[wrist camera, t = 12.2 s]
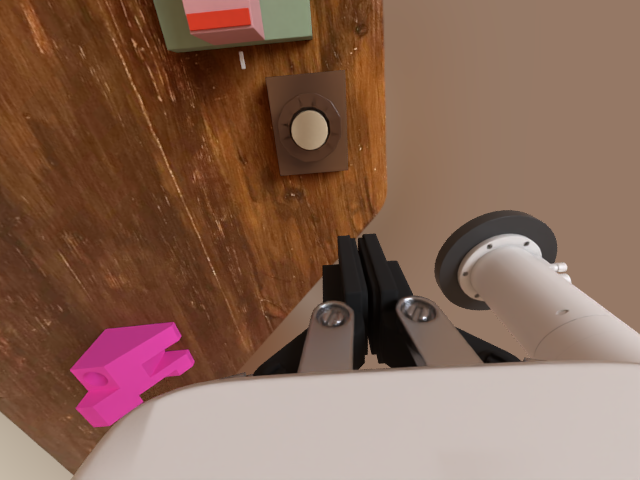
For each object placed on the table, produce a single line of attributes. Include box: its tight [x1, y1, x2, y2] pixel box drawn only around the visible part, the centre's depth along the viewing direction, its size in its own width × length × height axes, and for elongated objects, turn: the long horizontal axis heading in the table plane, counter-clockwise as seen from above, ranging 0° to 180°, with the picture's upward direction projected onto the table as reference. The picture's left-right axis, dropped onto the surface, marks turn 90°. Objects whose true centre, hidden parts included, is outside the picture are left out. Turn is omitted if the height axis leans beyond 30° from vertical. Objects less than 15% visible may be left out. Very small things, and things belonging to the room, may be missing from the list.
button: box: [291, 110, 328, 150], centre depth 27 cm, size 4×4×2 cm
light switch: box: [266, 70, 348, 176], centre depth 30 cm, size 8×10×4 cm
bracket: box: [70, 322, 195, 427], centre depth 44 cm, size 12×10×10 cm
